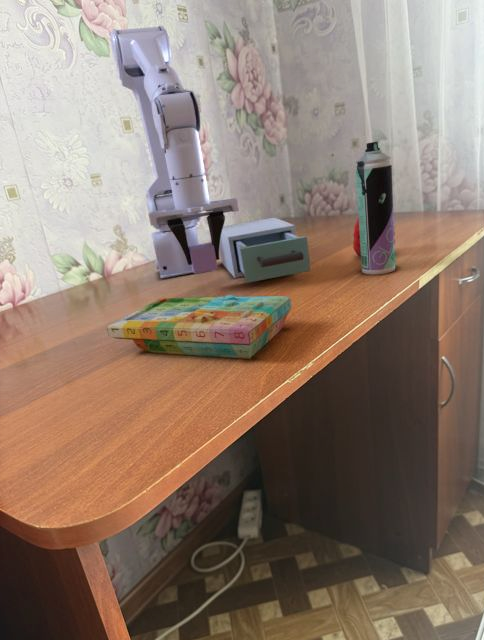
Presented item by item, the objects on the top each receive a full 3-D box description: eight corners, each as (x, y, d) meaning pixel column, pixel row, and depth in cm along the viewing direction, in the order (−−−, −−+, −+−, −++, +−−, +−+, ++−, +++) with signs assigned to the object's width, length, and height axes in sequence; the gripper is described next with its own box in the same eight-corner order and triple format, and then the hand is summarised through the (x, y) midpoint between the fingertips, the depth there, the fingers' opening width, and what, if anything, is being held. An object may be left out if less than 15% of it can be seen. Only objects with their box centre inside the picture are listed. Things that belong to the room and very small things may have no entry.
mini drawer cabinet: (299, 265, 95) (294, 225, 92) (234, 278, 92) (228, 237, 90) (279, 253, 108) (274, 217, 105) (222, 263, 106) (216, 227, 103)
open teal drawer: (318, 275, 82) (315, 240, 80) (251, 288, 80) (246, 253, 78) (288, 257, 98) (285, 227, 96) (232, 267, 97) (227, 237, 94)
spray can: (386, 275, 80) (381, 141, 73) (356, 273, 83) (347, 145, 76) (400, 266, 84) (396, 138, 76) (370, 265, 87) (364, 142, 80)
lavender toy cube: (194, 274, 83) (189, 250, 81) (192, 269, 86) (187, 246, 85) (218, 269, 83) (213, 245, 82) (214, 265, 87) (210, 242, 86)
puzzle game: (247, 324, 53) (104, 320, 62) (253, 365, 54) (114, 355, 63) (289, 291, 62) (160, 291, 71) (293, 326, 64) (167, 322, 73)
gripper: (142, 185, 74) (161, 274, 80) (236, 170, 77) (249, 257, 82) (141, 183, 81) (159, 265, 86) (228, 170, 83) (241, 250, 88)
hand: (203, 261), depth 84 cm, fingers closed on lavender toy cube, 4 cm apart
